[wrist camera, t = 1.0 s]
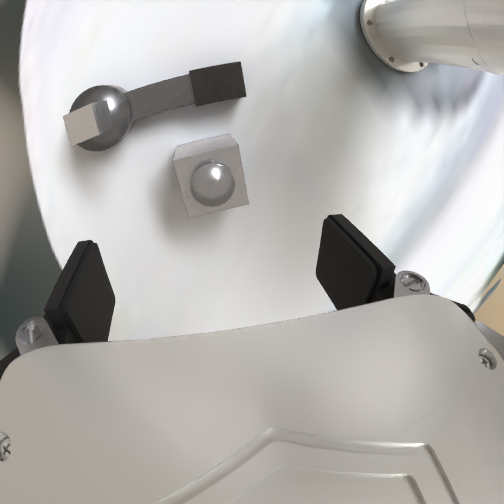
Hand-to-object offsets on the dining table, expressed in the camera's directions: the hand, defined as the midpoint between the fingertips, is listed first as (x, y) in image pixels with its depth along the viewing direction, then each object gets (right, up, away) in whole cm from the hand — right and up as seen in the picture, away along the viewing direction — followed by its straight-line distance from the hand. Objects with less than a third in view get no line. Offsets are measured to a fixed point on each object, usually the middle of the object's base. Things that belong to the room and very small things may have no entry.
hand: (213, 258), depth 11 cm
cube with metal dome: (-3, +10, +19) cm, 22 cm away
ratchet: (-9, +16, +14) cm, 23 cm away
